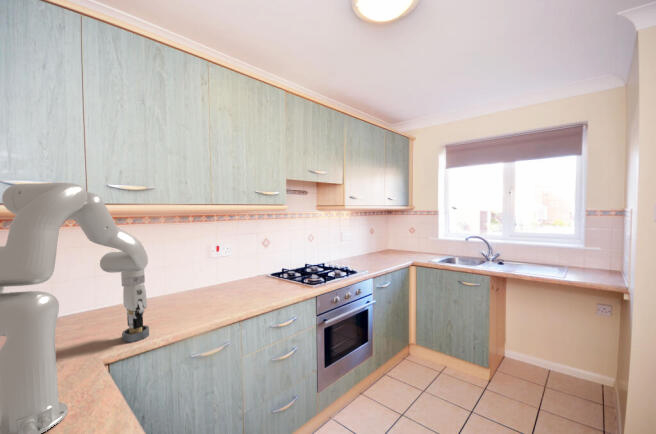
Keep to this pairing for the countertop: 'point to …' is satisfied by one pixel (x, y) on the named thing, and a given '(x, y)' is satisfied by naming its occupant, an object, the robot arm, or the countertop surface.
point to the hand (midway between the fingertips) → (135, 325)
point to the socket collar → (135, 335)
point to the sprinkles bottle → (130, 318)
